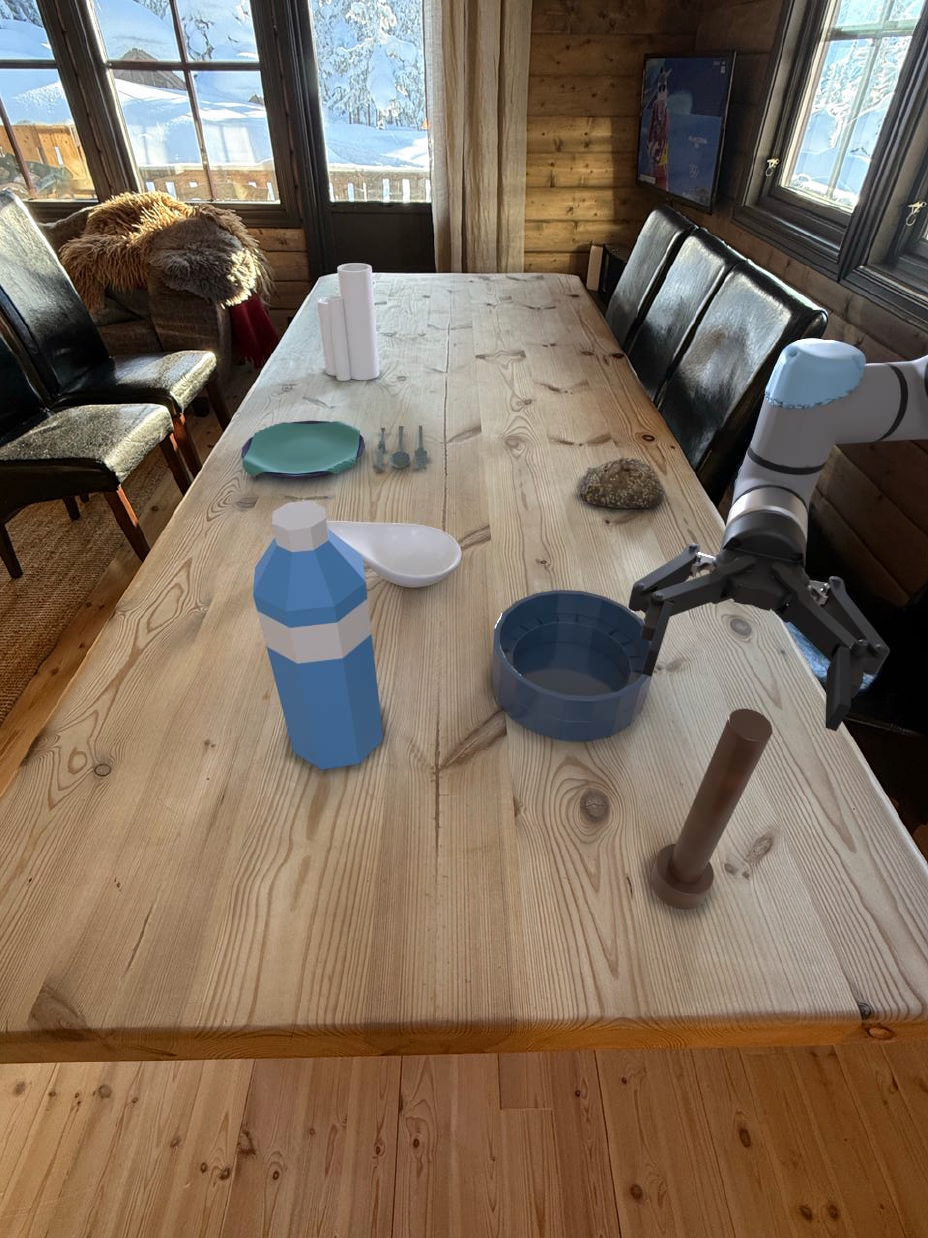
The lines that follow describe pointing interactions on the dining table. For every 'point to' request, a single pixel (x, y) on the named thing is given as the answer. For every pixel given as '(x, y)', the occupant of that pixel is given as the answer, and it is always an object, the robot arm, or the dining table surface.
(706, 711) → the dining table surface
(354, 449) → the cutlery set
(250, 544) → the dining table surface
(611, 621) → the bowl
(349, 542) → the spoon rest
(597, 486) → the bread roll
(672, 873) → the pestle
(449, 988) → the dining table surface
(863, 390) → the robot arm
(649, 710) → the dining table surface
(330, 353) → the vase
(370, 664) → the water bottle
